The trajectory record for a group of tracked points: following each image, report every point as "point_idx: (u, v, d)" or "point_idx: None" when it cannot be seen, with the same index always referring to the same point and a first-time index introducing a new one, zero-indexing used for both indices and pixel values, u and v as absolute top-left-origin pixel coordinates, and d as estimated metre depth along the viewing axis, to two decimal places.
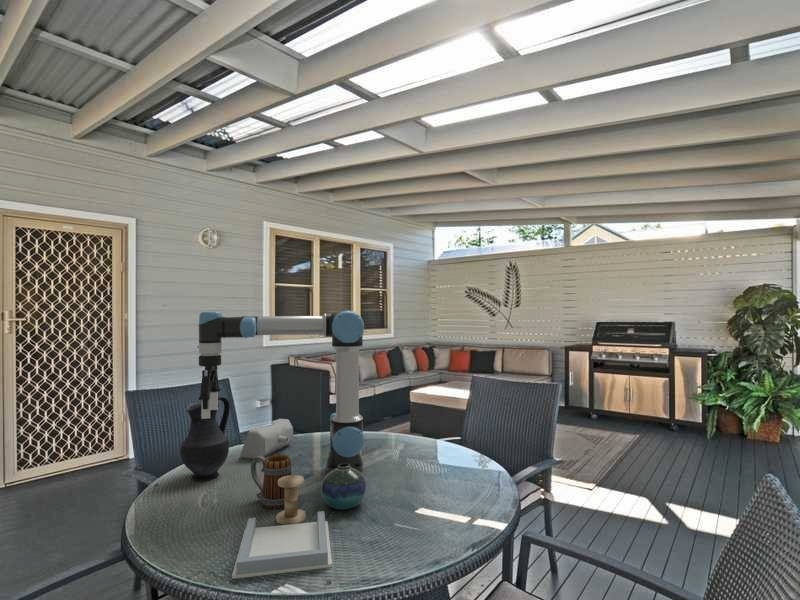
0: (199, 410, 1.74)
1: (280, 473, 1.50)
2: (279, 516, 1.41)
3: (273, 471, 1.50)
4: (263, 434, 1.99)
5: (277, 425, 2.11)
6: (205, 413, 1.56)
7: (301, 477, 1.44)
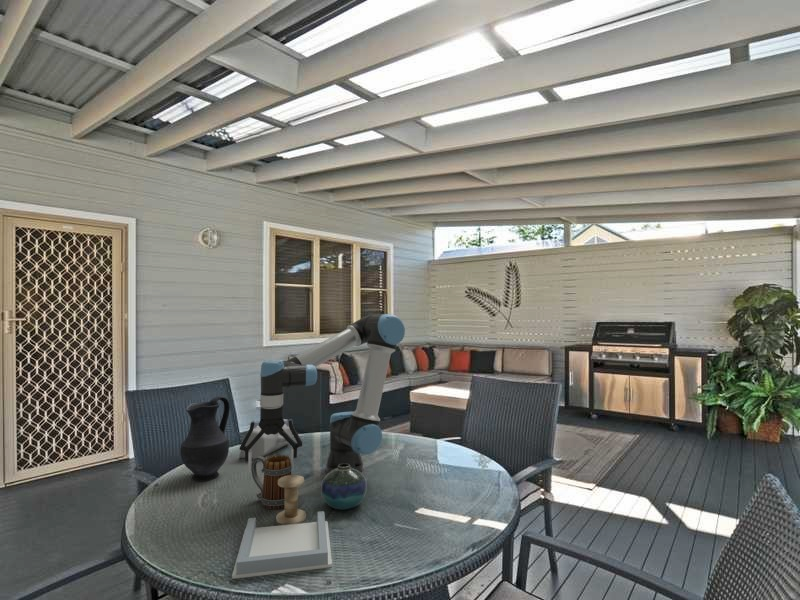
0: (199, 410, 1.74)
1: (280, 474, 1.50)
2: (279, 516, 1.41)
3: (273, 471, 1.49)
4: None
5: None
6: None
7: (301, 477, 1.44)
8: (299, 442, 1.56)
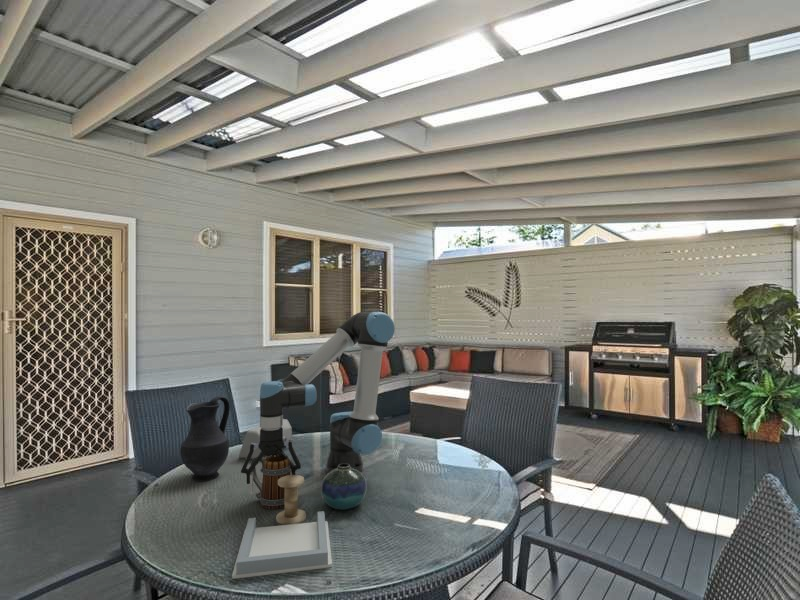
0: (199, 410, 1.74)
1: (278, 473, 1.50)
2: (279, 516, 1.41)
3: (271, 471, 1.49)
4: None
5: None
6: None
7: (301, 477, 1.44)
8: (297, 464, 1.56)
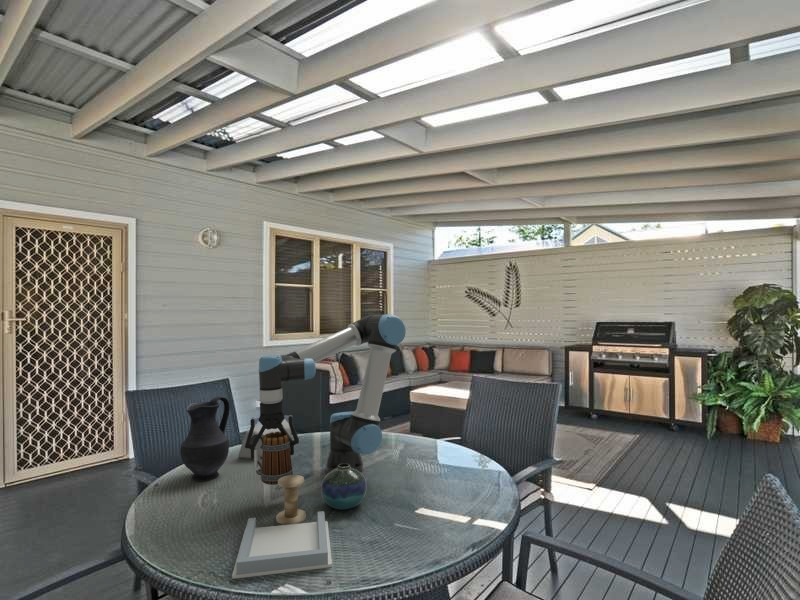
0: (199, 410, 1.74)
1: (278, 449, 1.50)
2: (279, 516, 1.41)
3: (271, 447, 1.50)
4: None
5: None
6: None
7: (301, 477, 1.44)
8: (296, 439, 1.56)
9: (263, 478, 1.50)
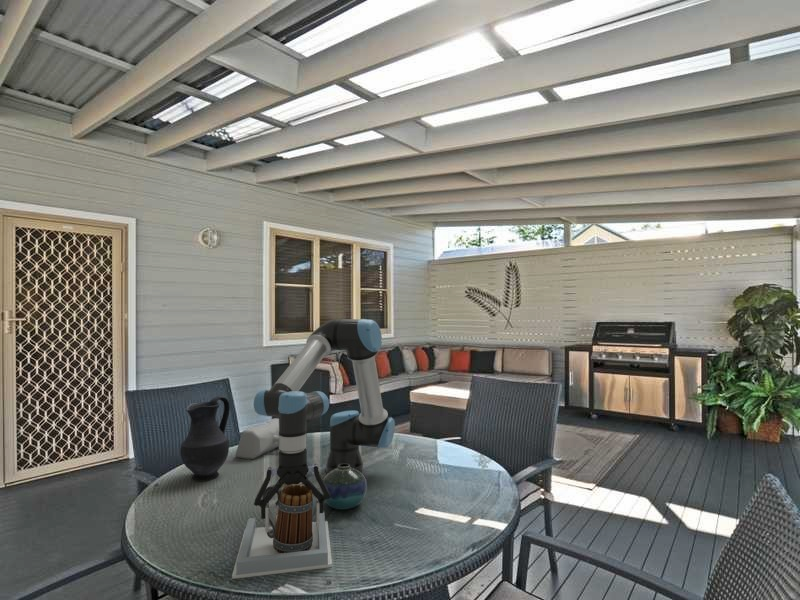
0: (199, 410, 1.74)
1: (299, 511, 1.19)
2: None
3: (291, 508, 1.19)
4: (258, 434, 2.00)
5: (272, 425, 2.12)
6: None
7: None
8: (326, 494, 1.25)
9: (276, 546, 1.19)
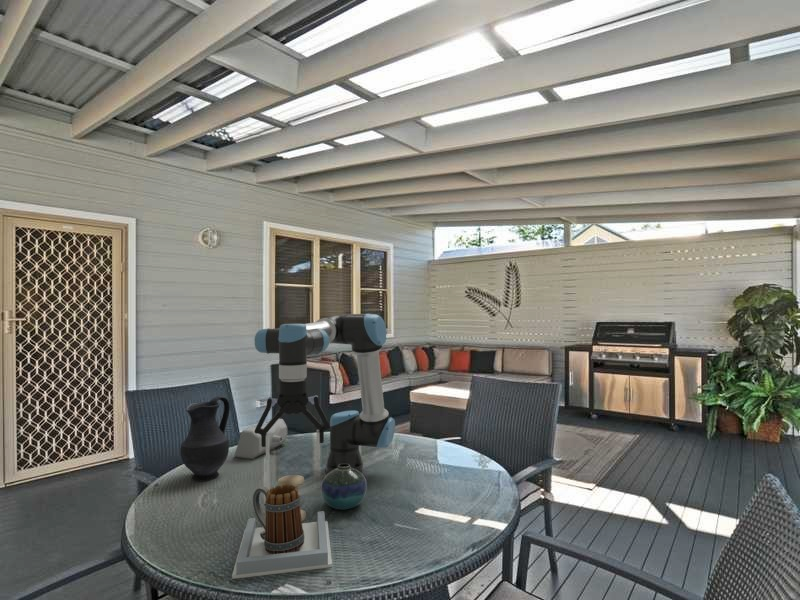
0: (199, 410, 1.74)
1: (284, 509, 1.19)
2: None
3: (275, 507, 1.19)
4: (257, 433, 2.00)
5: None
6: None
7: (301, 477, 1.44)
8: (326, 423, 1.27)
9: (266, 546, 1.20)
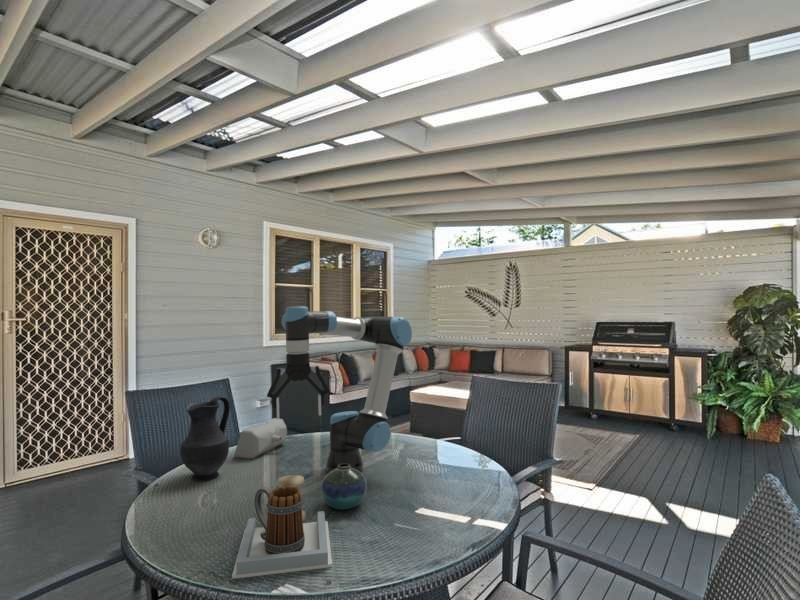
0: (199, 410, 1.74)
1: (286, 512, 1.19)
2: None
3: (277, 509, 1.19)
4: (257, 433, 2.00)
5: (271, 424, 2.12)
6: None
7: (301, 477, 1.44)
8: (326, 388, 1.53)
9: (267, 547, 1.20)
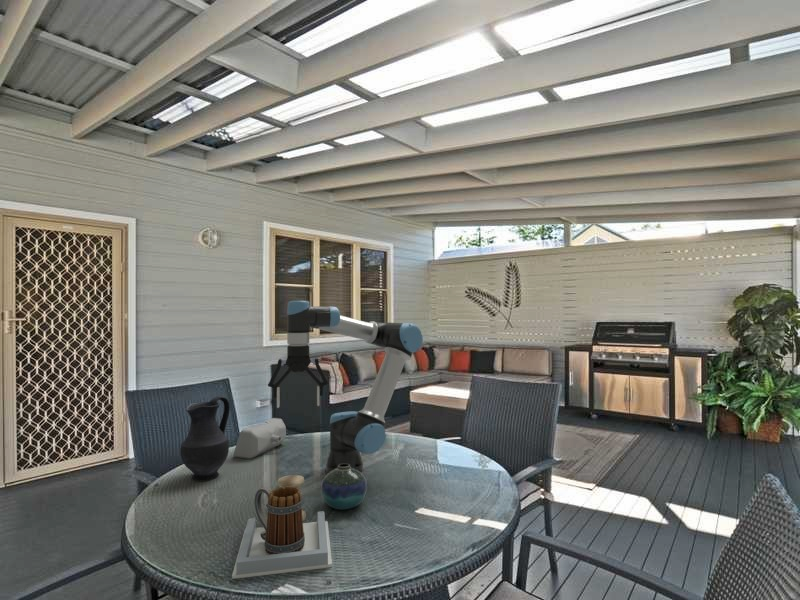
0: (199, 410, 1.74)
1: (286, 512, 1.19)
2: None
3: (277, 509, 1.19)
4: (256, 433, 2.00)
5: (270, 424, 2.12)
6: (277, 402, 1.57)
7: (301, 477, 1.44)
8: (325, 380, 1.59)
9: (267, 547, 1.20)
